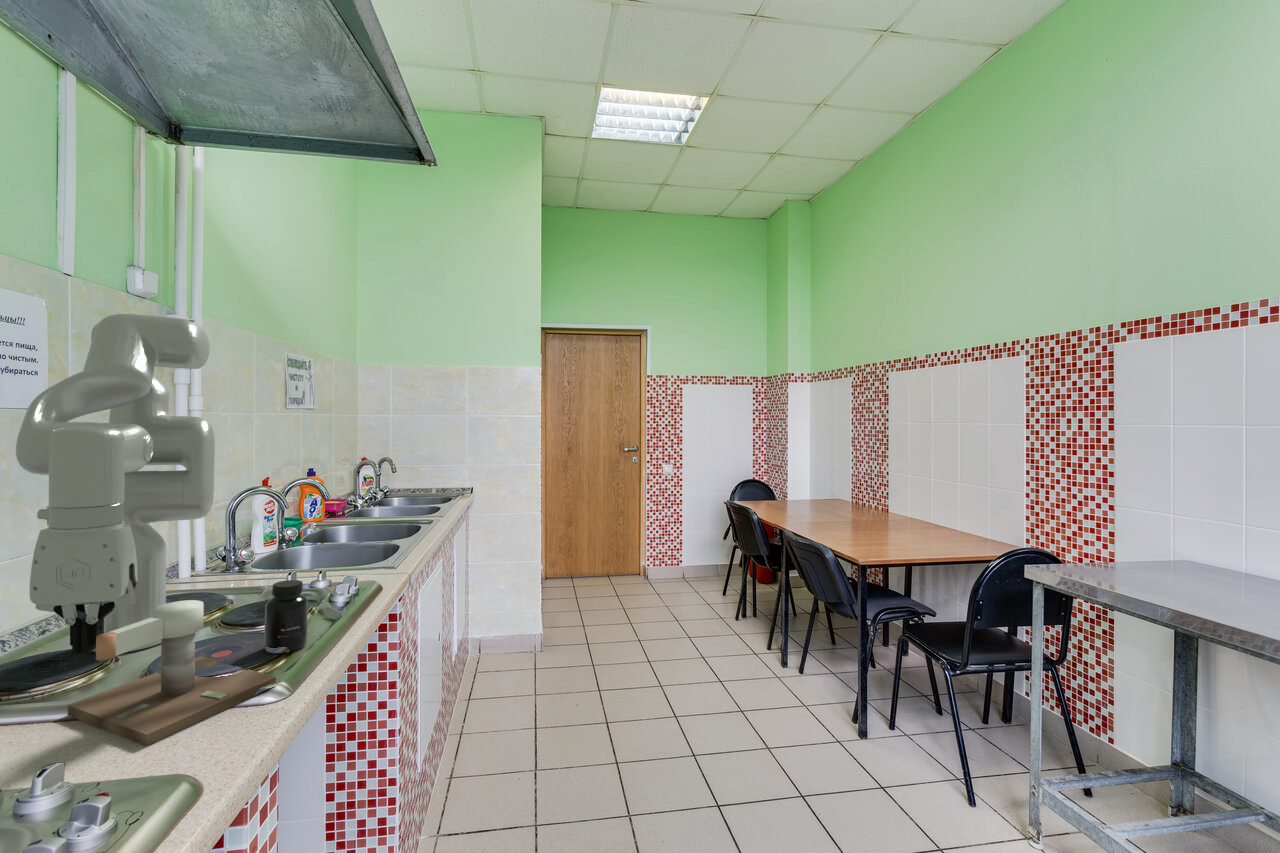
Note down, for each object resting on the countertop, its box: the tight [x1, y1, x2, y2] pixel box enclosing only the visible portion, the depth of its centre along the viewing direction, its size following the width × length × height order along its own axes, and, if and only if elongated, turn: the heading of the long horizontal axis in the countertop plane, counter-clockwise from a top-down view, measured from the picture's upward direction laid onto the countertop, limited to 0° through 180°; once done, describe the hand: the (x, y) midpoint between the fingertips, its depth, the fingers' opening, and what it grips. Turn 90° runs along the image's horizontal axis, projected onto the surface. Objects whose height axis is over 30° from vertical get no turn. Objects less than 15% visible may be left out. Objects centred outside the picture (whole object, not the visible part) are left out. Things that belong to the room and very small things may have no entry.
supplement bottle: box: [263, 579, 309, 653], centre depth 108 cm, size 7×7×12 cm
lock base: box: [67, 632, 277, 747], centre depth 88 cm, size 18×18×10 cm
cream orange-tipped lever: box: [95, 599, 205, 661], centre depth 84 cm, size 14×6×4 cm, turn 169°
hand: (87, 649), depth 80 cm, fingers closed
